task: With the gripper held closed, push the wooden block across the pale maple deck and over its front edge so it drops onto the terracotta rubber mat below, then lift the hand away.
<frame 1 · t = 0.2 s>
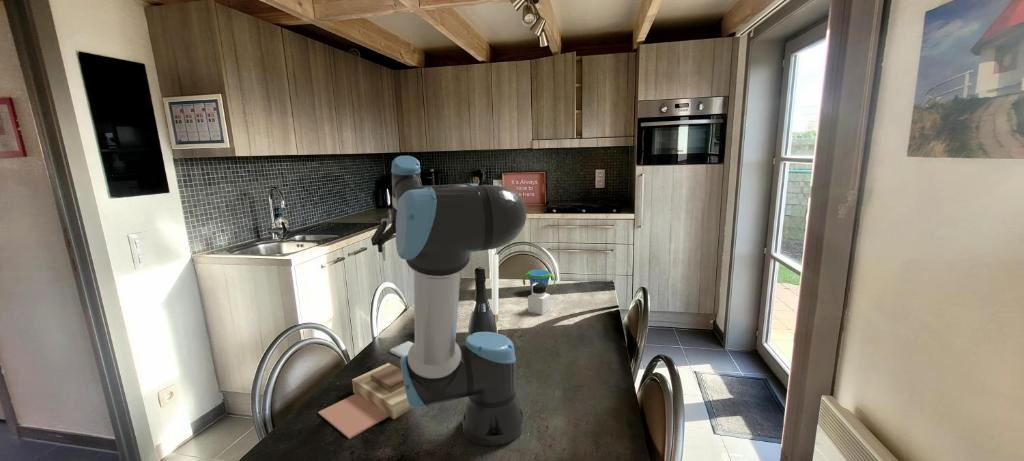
hand: (405, 255, 134), 35 cm above the table, tool tilted 35°, fingers open, 13 cm apart
medicine bottle: (539, 311, 175), on the table
mat: (353, 414, 107), on the table
canned food: (443, 330, 158), on the table
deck: (391, 394, 116), on the table
wooden block: (391, 381, 116), point 4 cm above the table, touching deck
snack cup: (539, 293, 199), on the table
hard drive: (410, 354, 141), on the table
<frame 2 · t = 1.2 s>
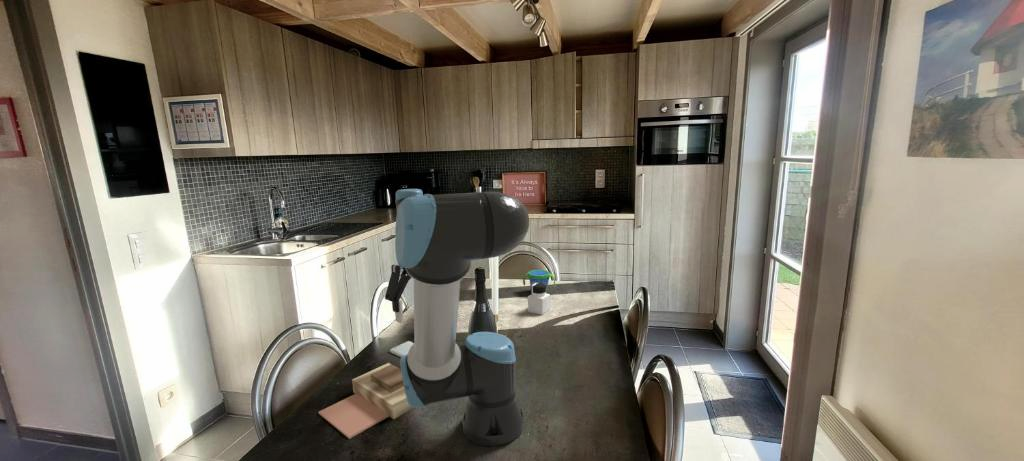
hand: (418, 315, 120), 20 cm above the table, tool pointing down, fingers open, 12 cm apart
nothing on the table moved.
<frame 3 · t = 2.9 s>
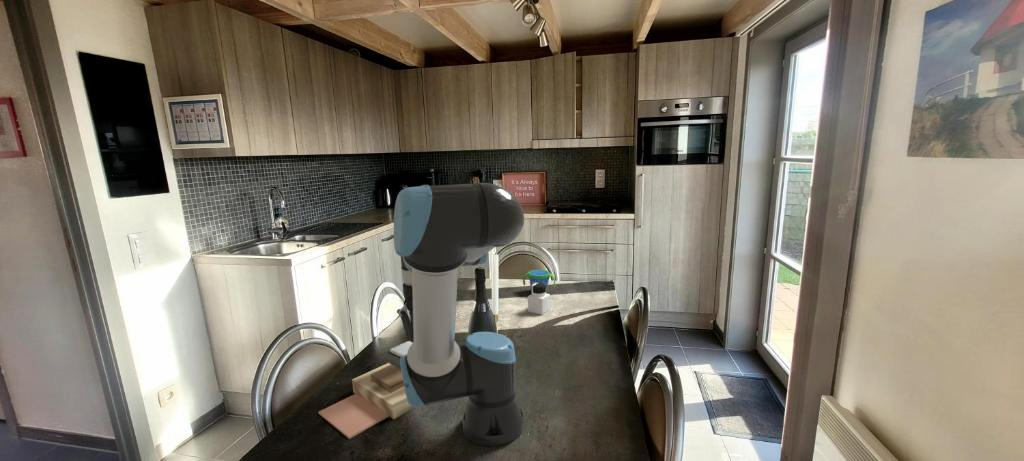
hand: (421, 356, 123), 7 cm above the table, tool pointing down, fingers closed
nothing on the table moved.
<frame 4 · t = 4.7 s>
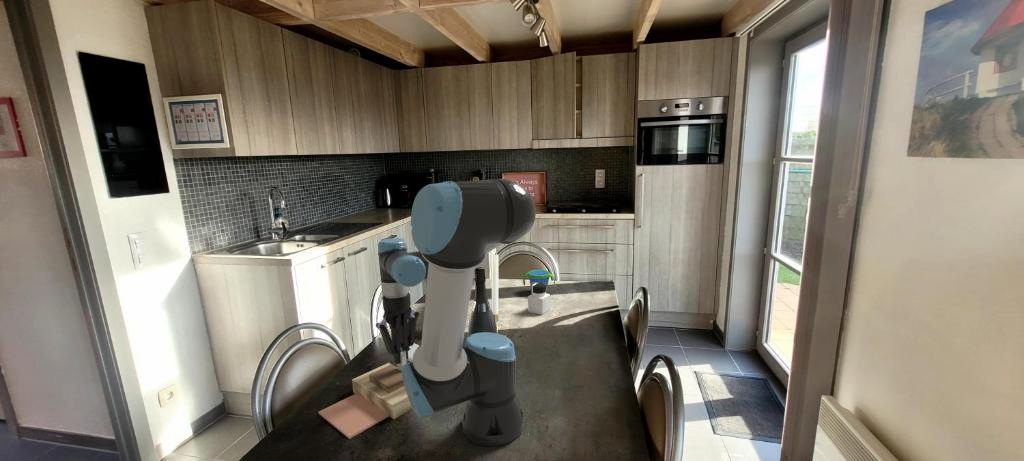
hand: (402, 371, 118), 5 cm above the table, tool pointing down, fingers closed
wooden block: (390, 381, 115), point 4 cm above the table, touching gripper
everything else where it was.
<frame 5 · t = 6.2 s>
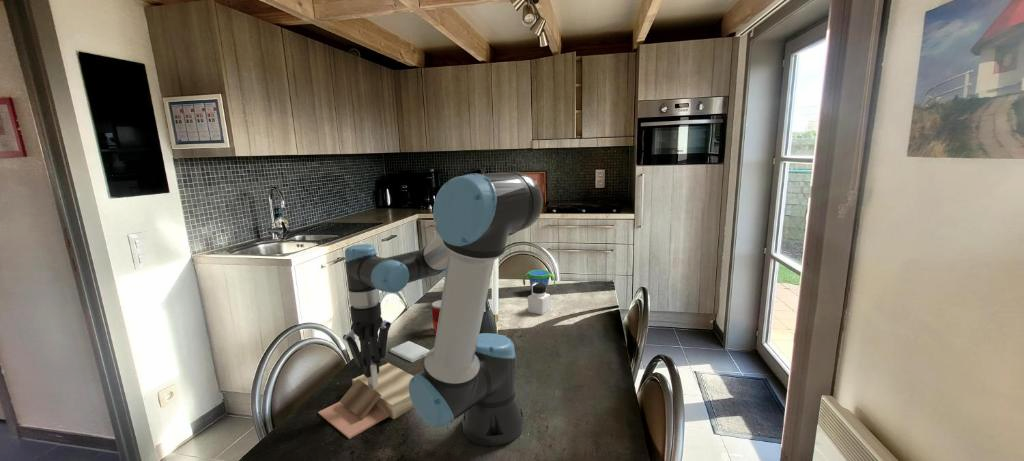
hand: (373, 385, 111), 5 cm above the table, tool pointing down, fingers closed
wooden block: (362, 400, 109), point 2 cm above the table, tilted 35°, touching mat
everything else where it was.
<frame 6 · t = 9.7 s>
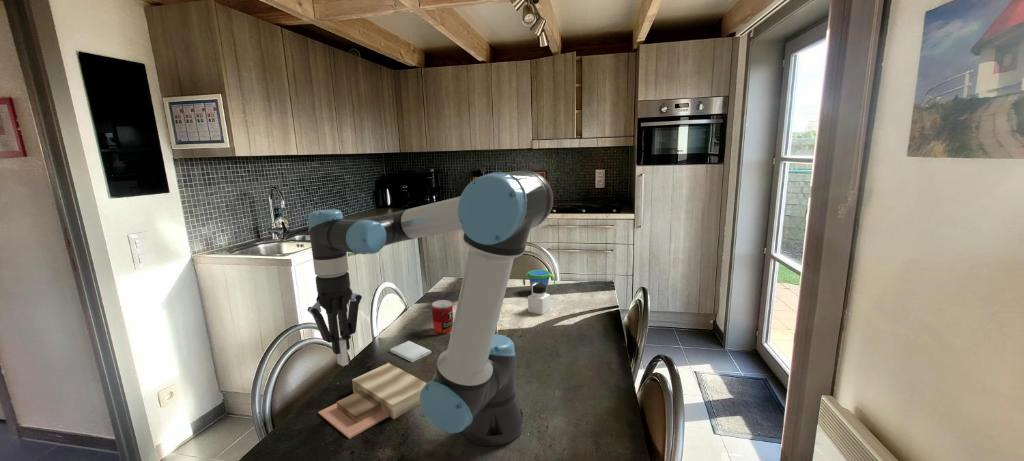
hand: (343, 363, 103), 15 cm above the table, tool pointing down, fingers closed
wooden block: (359, 409, 109), resting on mat
everything else where it was.
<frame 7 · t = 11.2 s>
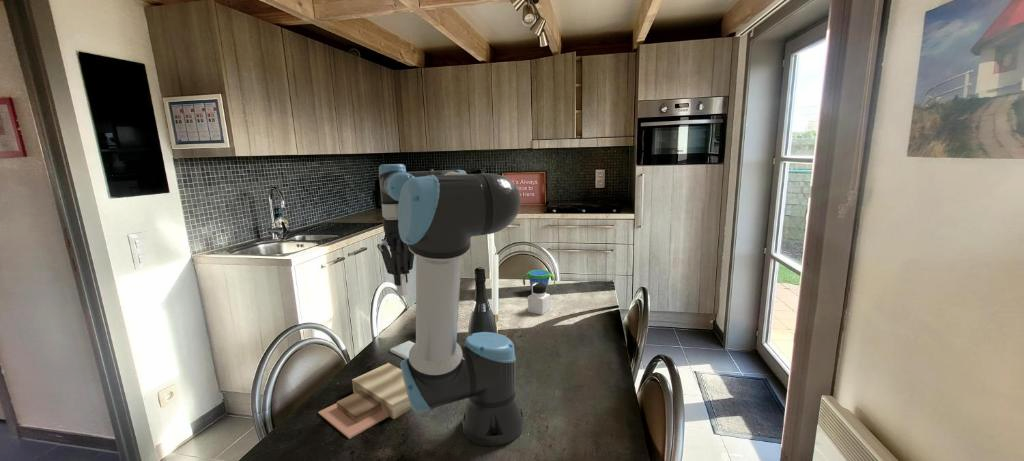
hand: (402, 294, 123), 25 cm above the table, tool pointing down, fingers closed
nothing on the table moved.
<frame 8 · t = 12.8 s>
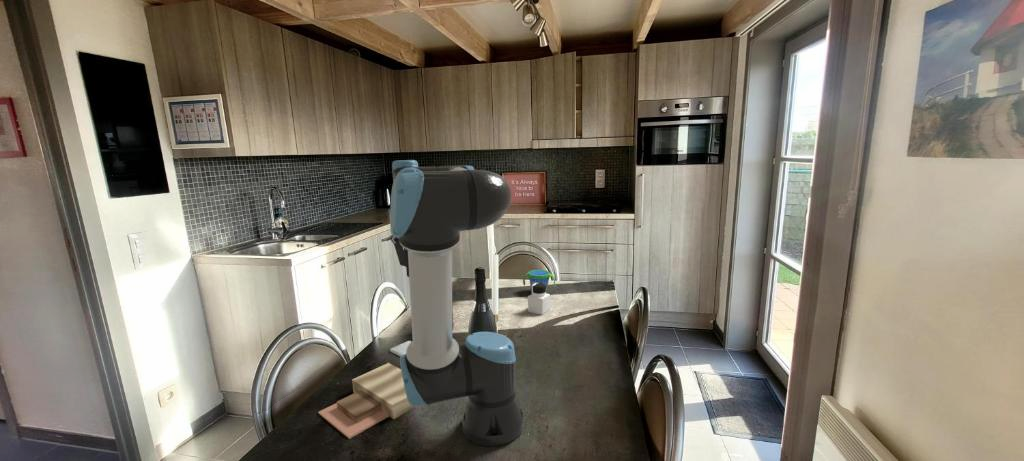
hand: (414, 286, 128), 26 cm above the table, tool pointing down, fingers closed
nothing on the table moved.
at the end: wooden block inside the target area (2.1 cm from its centre), point 0.5 cm above the table; wooden block point 0.5 cm above the table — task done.
